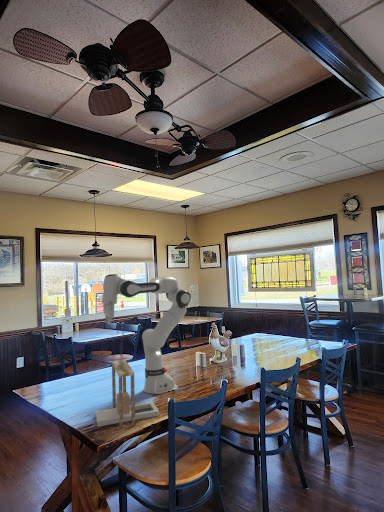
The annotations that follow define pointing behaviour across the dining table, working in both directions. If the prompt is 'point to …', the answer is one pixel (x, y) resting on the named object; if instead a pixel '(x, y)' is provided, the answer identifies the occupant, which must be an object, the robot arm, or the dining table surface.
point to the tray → (140, 412)
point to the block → (124, 403)
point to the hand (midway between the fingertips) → (107, 323)
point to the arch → (123, 388)
